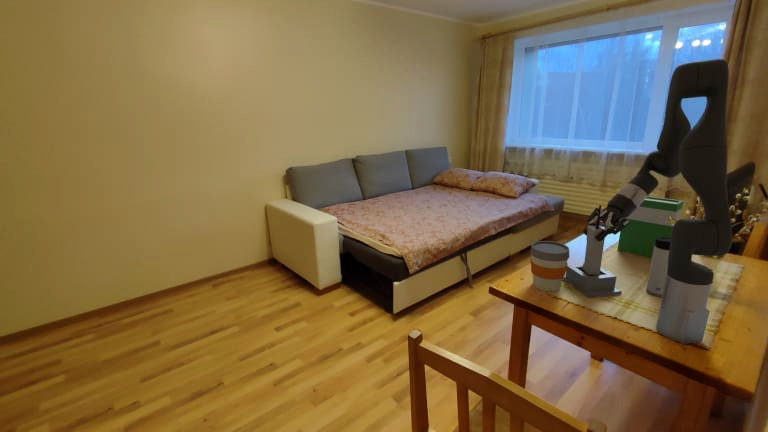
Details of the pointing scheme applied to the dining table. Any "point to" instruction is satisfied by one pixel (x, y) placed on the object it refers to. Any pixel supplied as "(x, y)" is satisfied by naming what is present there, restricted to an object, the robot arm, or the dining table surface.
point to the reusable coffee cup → (548, 264)
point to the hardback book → (648, 225)
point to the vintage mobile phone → (593, 249)
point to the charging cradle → (591, 282)
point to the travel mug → (658, 267)
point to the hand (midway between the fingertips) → (590, 236)
